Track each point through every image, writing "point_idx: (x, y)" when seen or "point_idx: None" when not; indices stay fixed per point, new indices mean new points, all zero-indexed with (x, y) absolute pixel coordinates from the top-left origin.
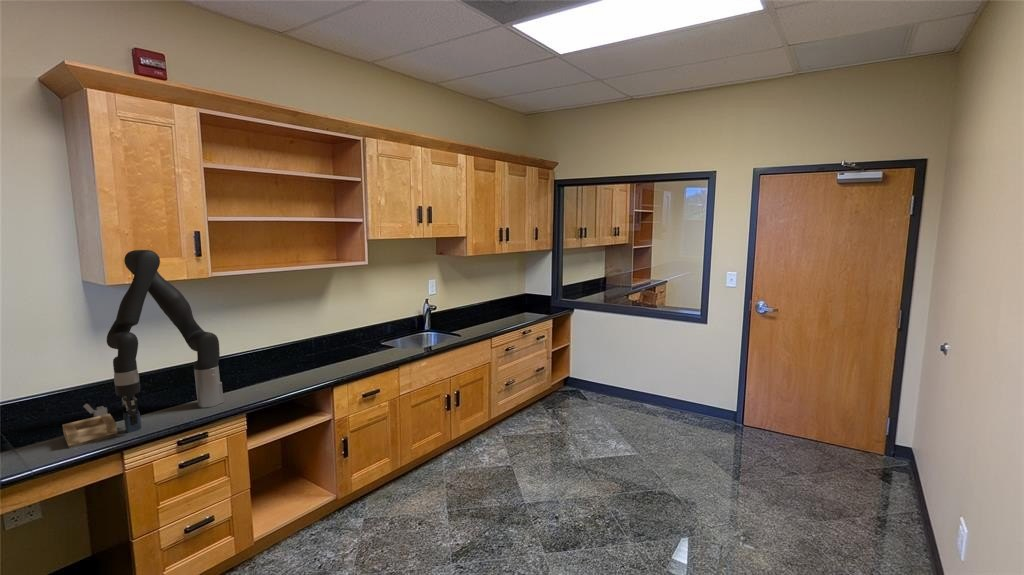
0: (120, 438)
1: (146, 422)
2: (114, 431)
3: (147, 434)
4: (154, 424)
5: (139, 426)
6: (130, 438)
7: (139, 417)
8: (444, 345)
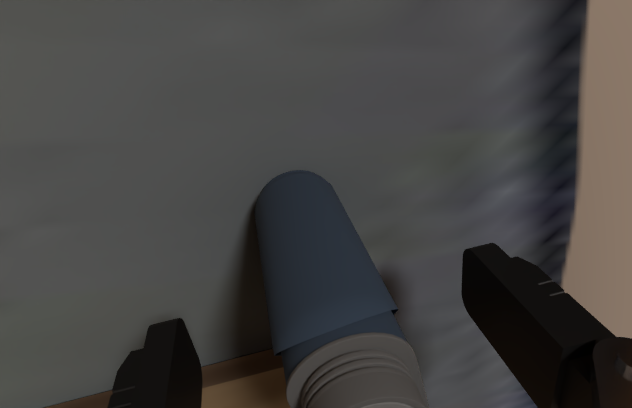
0: (445, 300)
1: (78, 116)
2: None
3: (550, 101)
4: (246, 16)
5: (334, 194)
6: (516, 233)
7: (362, 254)
8: None
